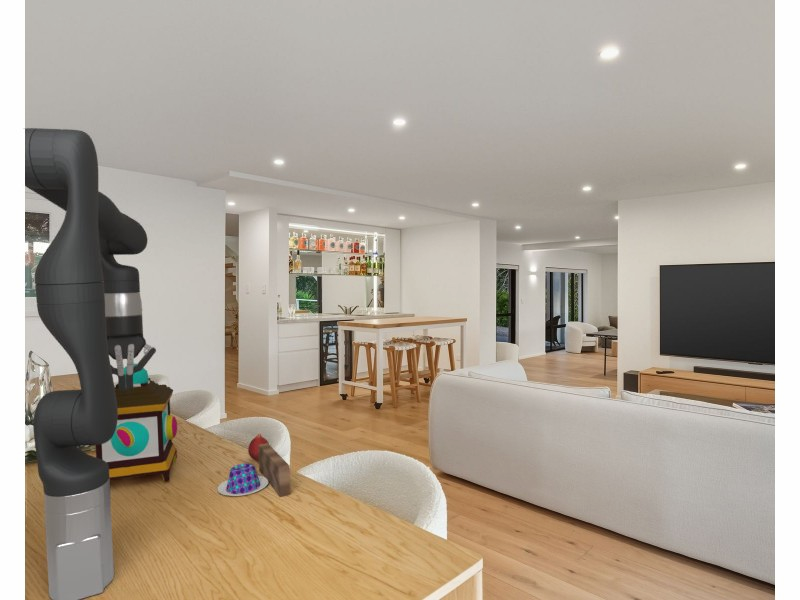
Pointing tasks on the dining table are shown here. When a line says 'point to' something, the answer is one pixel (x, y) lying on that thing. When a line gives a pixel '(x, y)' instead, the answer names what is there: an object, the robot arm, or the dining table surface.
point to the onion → (256, 446)
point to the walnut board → (274, 469)
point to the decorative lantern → (141, 431)
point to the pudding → (242, 481)
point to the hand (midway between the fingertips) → (126, 391)
